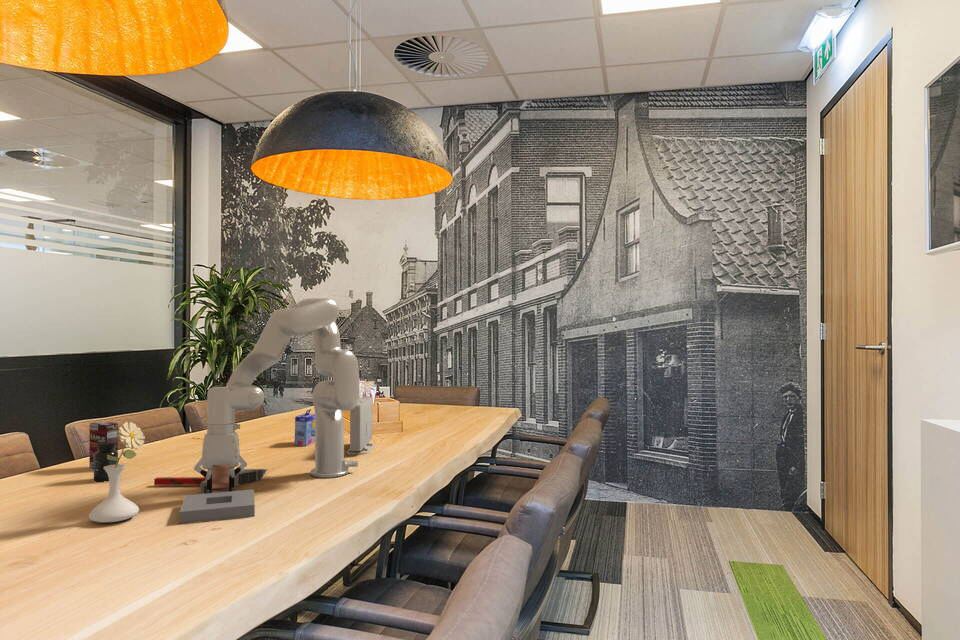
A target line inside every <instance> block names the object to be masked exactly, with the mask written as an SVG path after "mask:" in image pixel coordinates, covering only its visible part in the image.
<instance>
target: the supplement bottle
mask: <svg viewBox="0 0 960 640" xmlns="http://www.w3.org/2000/svg"><path fill="white" fill-rule="evenodd" d="M114 448H115V442H100V443H98V444H97V449H98V451H97V452H96V453H95V454H94V469H93V481H94V482H95V481H96V482H95V483H105V482H104V481H109V477H108V474H107V472H106V471H105V469H104V468H103V467H105V466H109V465H116V463H117V461H113V460H108V459H107V455H110V456H113V457H118V458H119V451H118V452H117V451H116V450H114Z"/></svg>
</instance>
